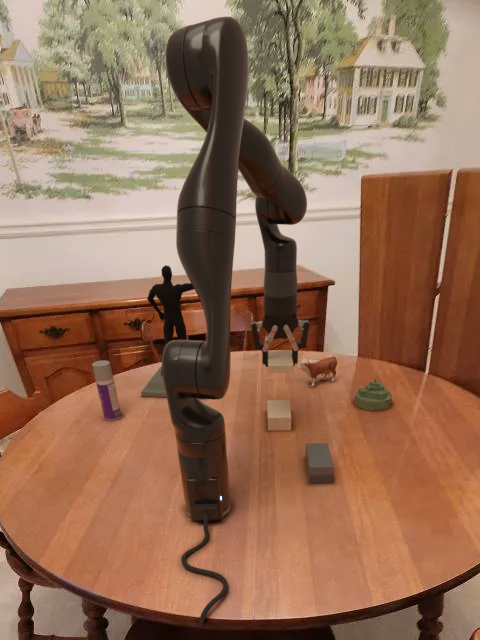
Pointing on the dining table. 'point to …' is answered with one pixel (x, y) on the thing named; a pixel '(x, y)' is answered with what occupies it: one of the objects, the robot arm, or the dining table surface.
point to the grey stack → (319, 463)
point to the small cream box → (278, 415)
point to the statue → (166, 322)
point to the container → (107, 390)
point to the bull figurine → (319, 368)
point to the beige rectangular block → (280, 361)
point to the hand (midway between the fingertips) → (280, 365)
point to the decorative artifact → (373, 397)
